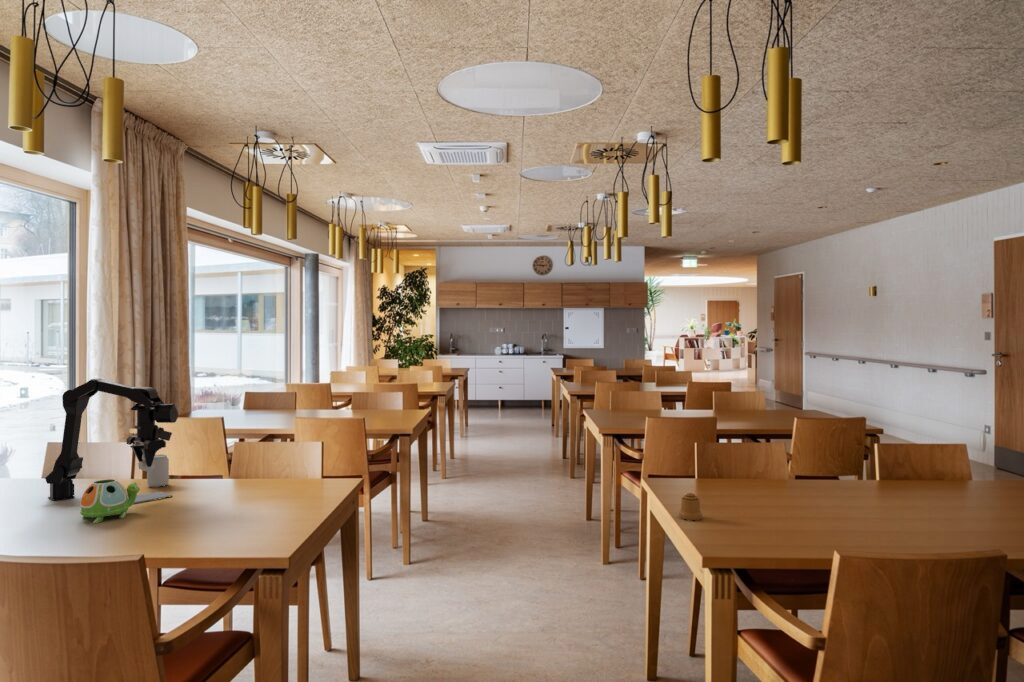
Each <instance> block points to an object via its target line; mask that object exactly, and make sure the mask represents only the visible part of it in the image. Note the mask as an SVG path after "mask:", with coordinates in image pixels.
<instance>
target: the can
mask: <svg viewBox="0 0 1024 682" xmlns="http://www.w3.org/2000/svg"><path fill="white" fill-rule="evenodd" d="M153 461H154V463H155V467H154V469H153V470H150V471H146V485H147V486H148V487H149V488H153V487H156V488H161V487H160V486H163V487H165V486H164V485H166V486H167V485H168V484H169V481H170V477H169V476H170V475H169V474H170V472H169V470H170V467H169V466H170V464H169V461H170V459H169V457H168V455H167V454H164V453H163V454H155V456H154V459H153Z"/></svg>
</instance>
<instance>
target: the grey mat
mask: <svg viewBox="0 0 1024 682" xmlns="http://www.w3.org/2000/svg"><path fill="white" fill-rule="evenodd" d="M169 496H172V497H173V495H172V494H168V493H166V492H164V491H154V492H148V493H143V494H137V495H136V499H135V501H134V503H133V504H132V505H135V503H137V504H141V503H140V502H142V503H146V502H145V501H148V502H151V501H150V500H153V501H155V500H154V499H159V498H164V497H169ZM164 499H165V498H164ZM159 500H160V499H159Z"/></svg>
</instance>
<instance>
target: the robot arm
mask: <svg viewBox="0 0 1024 682" xmlns="http://www.w3.org/2000/svg"><path fill="white" fill-rule="evenodd" d="M98 392H101V393H106V394H109V395H113V396H119V397H123V398H127V399H128V400H129V401H131V402H133V403H135V404H134V406H132V407H131V408H130V410H131V411H136V425H134V429H136V435H129V436H128V437H127V438H126V444H127V445H130V446H129V447H130V448H131V450H132V451H133V453H134V455H135V457H136V459H137V460H138V463H139V462H141V461H143V460H142V455H144V458H145V461H146V464H147V466H148V467H151V465H152V462H153V459H154V456H155V455H157V452H158V451H159V450H161V449H163V448H166V447H167V442H168V441H170V440H171V437H172V434H173V432H171V431H167V430H165V429H164V427H161V426H158V424H156V423H163V424H164V423H166V424H173V423H176V422H177V421H178V417H179V412H178V409H177V408H176V404H175V403H169V404H167V403H164V401H163V400H162V399H161V397H160V396H159V395H158V391H157V389H156V388H154V387H150V386H131V385H127V384H126V385H125V384H122V383H118V382H113V381H109V380H106V379H102V378H92V379H90V380H88V381H87V382H84V383H83V384H81V385H79V386H77V387H75V388H73V389H68V390H65V392H63V394H62V397H61V398H62V399H61V400H62V407H63V409H64V413H65V421H64V428H63V436H62V442H61V443H62V444H61V451H60V453H59V455H58V457H57V458H56V459H55V463H54V465H53V468H52V471H51V472H50V473H49V474H48V475H47V476H45V482H46V484H47V485H48V484H49V496H48V497H47V499H49V500H51V501H53V500H54V501H55V502H56V501H61V500H67V499H73V498H75V497H76V496H75V484H74V481H73V480H75V479H76V477H77V474H79V473H80V471H81V469H83V461H84V457H83V456H79V454H78V448H79V440H80V432H81V425H82V419H83V418H82V417H83V413H84V412H85V410H86V409H87V407H88V405H89V403H90V402H89V401H90V398H92V397H93V396H95V395H96V394H97V393H98ZM166 441H167V442H166Z"/></svg>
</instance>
